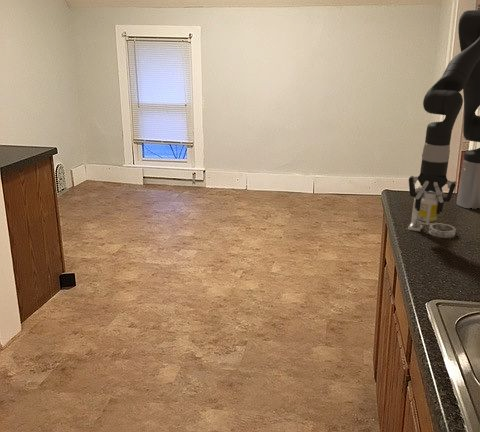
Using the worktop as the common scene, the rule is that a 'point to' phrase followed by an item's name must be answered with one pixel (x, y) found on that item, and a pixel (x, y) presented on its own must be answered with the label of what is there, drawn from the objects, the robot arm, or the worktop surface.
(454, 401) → the worktop surface
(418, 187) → the bar
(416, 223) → the frame
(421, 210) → the supplement bottle
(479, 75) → the robot arm
